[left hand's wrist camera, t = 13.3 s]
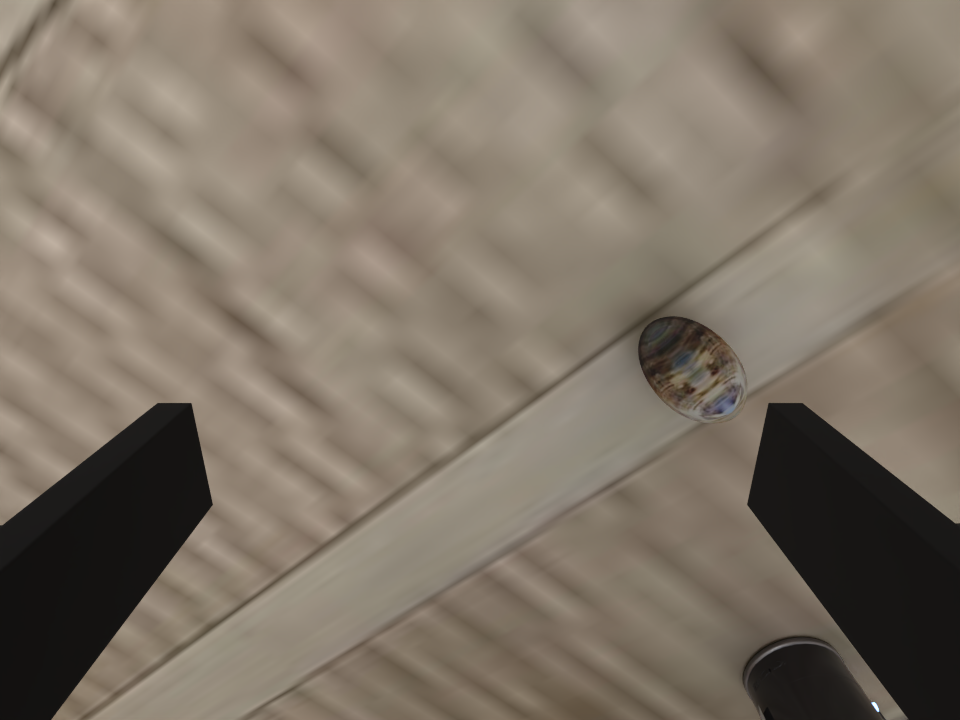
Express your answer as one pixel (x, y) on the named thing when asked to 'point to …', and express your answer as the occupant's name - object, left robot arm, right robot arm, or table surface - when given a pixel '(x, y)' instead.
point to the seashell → (692, 370)
